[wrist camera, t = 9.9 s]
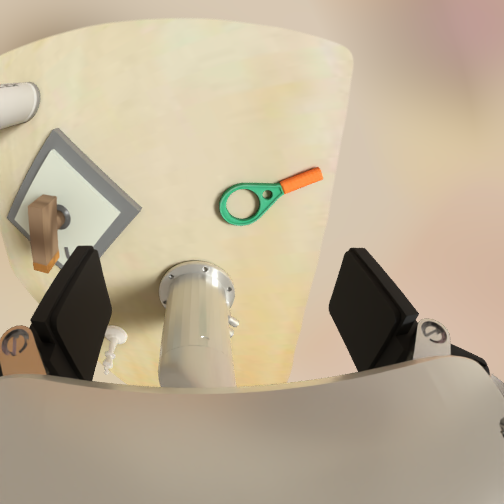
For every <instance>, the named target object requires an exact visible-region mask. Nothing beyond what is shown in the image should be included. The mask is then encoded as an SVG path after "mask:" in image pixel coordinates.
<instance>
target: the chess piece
mask: <svg viewBox="0 0 504 504" xmlns="http://www.w3.org/2000/svg"><path fill="white" fill-rule="evenodd" d="M105 337H106V338H107V339H108V340H109V341H110V344H109V351H107V352H105V356H106V359H105V360H104V361H103V366H104V369H105V372H104V373H105V374H109V371H108V369H109V368H112V367H113V362H112V359H114V358H115V357H116V356H115V354H114V350H115V348H116V345H117V344H122V343H124V342H125V341H126V339H127V333H126V332H125V331H124V330H123V329H122V328H120V327H118V326H114V325H110V326H107V329H106V333H105Z"/></svg>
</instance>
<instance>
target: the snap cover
mask: <svg viewBox="0 0 504 504" xmlns="http://www.w3.org/2000/svg"><path fill="white" fill-rule="evenodd" d="M43 194H44V195H50V196H56V197H57V210H59V211H61V212H62V213H63V214H64V216H65V223H64V224H63V225H62V226H61V227H60V228H59V229H58V231H57V232H58V248H59V255H60V257H59V259H58V260H57V262H56V263H55V264H56V265H57V266H58V267H59V268H60V269H62V267H63V266H64V264H65V263H66V261H67V260H68V258H69V257H70V256H71V254H72V253H73V251H74V250H75V248H76V247H77V246H93V248H94V249H96V250H97V251H98V254H99V258H100V257H101V256H102V255H103V253H104V252H105V251H106V250H107V249H108V247H109V246H110V245H111V244H112V243H113V241H114V240H115V239H116V238H117V237H118V236H119V234H120V233H121V232H122V231H123V230H124V229H125V228H126V226H127V225H128V224H129V223H130V222H131V221H132V220H133V219H134V218H135V216H136V215H137V214H138V213H139V212H140V210H141V209H142V207H140V206H139V205H138V204H137V203H136V202H135V201H134V200H133V199H132V198H131V197H130V196H128V195H127V194H126V193H125V192H124V191H123V190H122V189H121V188H120V187H119V186H118V185H117V184H116V183H114V182H113V181H112V180H111V179H110V178H109V177H108V176H107V175H106V174H105V173H104V172H103V171H102V170H101V169H100V168H99V167H98V166H97V165H95V164H94V163H93V162H92V161H91V160H90V159H89V158H88V157H87V156H86V155H85V154H84V153H83V152H82V151H81V150H80V149H79V148H78V147H77V146H76V145H75V144H74V143H73V142H72V141H71V140H70V139H69V138H68V137H67V136H66V135H65V134H64V133H63V132H62V131H61V130H60V129H59V128H56V129H53V130H52V132H51V134H50V135H49V137H48V138H47V140H46V141H45V143H44V145H43V146H42V148H41V150H40V151H39V153H38V155H37V157H36V158H35V160H34V162H33V164H32V166H31V167H30V169H29V171H28V173H27V175H26V177H25V179H24V181H23V183H22V185H21V187H20V189H19V191H18V193H17V195H16V198H15V200H14V202H13V204H12V207H11V209H10V211H9V214H8V216H7V219H8V220H9V221H10V222H11V223H12V224H13V225H14V226H15V227H16V228H17V229H18V230H19V231H20V232H21V233H22V234H23V235H24V236H25V237H26V238H27V239H28V240H29V241H30V232H29V220H28V205H30V204H31V203H32V202H33V201H35V200H36V199H37V198H39V197H40V196H41V195H43ZM30 242H31V241H30Z"/></svg>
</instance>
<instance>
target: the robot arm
mask: <svg viewBox="0 0 504 504" xmlns="http://www.w3.org/2000/svg"><path fill="white" fill-rule="evenodd" d="M159 297H160V301H161V303H162V305H163V306H164V308H165V309H166V310H165V317H164V325H163V332H162V340H161V349H160V358H159V366H158V377H159V383H160V385H161V387H149V386H135V385H122V384H113V383H104V382H95V381H92V379H93V375H94V371H95V367H96V364H97V360H98V356H99V353H100V349H101V346H102V343H103V339H104V336H105V333H106V329H107V326H108V323H109V320H110V317H111V313H112V307H111V303H110V299H109V296H108V292H107V288H106V284H105V280H104V276H103V272H102V267H101V263H100V258H99V254H98V251H97V250H96V249H94V248H93V246H77V247H76V248H75V250H74V251H73V253H72V254H71V256H70V257H69V258H68V260H67V261H66V263H65V264H64V266H63V267H62V269H61V270H60V272H59V273H58V275H57V276H56V278H55V279H54V281H53V282H52V284H51V286H50V287H49V289H48V290H47V292H46V294H45V295H44V297H43V299H42V300H41V302H40V304H39V306H38V308H37V309H36V311H35V313H34V315H33V316H32V318H31V322H32V324H31V326H30V328H28V327H26V326H22V325H21V326H15V327H12V328H10V329H9V330H7V331H6V332H5V333H4V334H3V335H2V337H1V339H0V504H504V383H503V382H502V381H500V380H499V379H498V378H497V377H495V376H494V375H493V374H491V375H490V373H489V368H488V366H487V364H486V362H485V360H483V359H482V358H480V357H478V356H476V355H474V354H472V353H469V352H467V351H465V350H463V349H461V348H459V347H457V346H455V345H452V344H451V343H450V334H449V332H448V330H447V329H446V328H445V327H444V326H443V325H442V324H441V323H440V322H438V321H436V320H433V319H429V318H425V319H422V320H421V321H419V322H418V323H417V321H416V318H417V316H418V314H419V313H418V312H417V311H416V309H415V308H414V307H413V306H412V304H411V303H410V302H409V301H408V299H407V298H406V297H405V295H404V294H403V293H402V292H401V290H400V289H399V288H398V287H397V286H396V284H395V283H394V282H393V281H392V279H391V278H390V277H389V276H388V275H387V273H386V272H385V271H384V270H383V269H382V267H381V266H380V265H379V264H378V263H377V262H376V260H375V259H374V258H373V257H372V256H371V255H370V254H369V252H368V251H367V250H366V249H365V248H350V249H349V251H347V252H346V253H345V255H344V258H343V261H342V265H341V268H340V271H339V275H338V278H337V281H336V284H335V287H334V290H333V294H332V297H331V300H330V303H329V312H330V314H331V316H332V318H333V320H334V322H335V324H336V326H337V328H338V331H339V333H340V335H341V337H342V339H343V341H344V343H345V345H346V346H347V349H348V351H349V353H350V355H351V357H352V360H353V362H354V364H355V366H356V368H357V370H358V372H355V373H350V374H345V375H339V376H333V377H328V378H321V379H314V380H307V381H299V382H290V383H281V384H271V385H259V386H244V387H236V381H235V374H234V365H233V357H232V349H231V340H230V338H231V337H232V336H233V334H234V330H233V329H231V328H230V327H229V324H230V325H232V326H233V327H237V326H238V324H239V321H238V320H237V319H236V318H234V317H232V316H231V313H230V308H231V306H232V304H233V302H234V298H235V289H234V284H233V282H232V280H231V278H230V277H229V275H228V274H227V273H226V272H225V271H224V270H223V269H221V268H220V267H218V266H216V265H214V264H211V263H208V262H203V261H188V262H183V263H180V264H178V265H176V266H174V267H172V268H171V269H170V270H168V271H167V272H166V274H165V275H164V276H163V278H162V280H161V282H160V287H159Z"/></svg>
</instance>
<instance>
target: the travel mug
mask: <svg viewBox="0 0 504 504" xmlns="http://www.w3.org/2000/svg"><path fill="white" fill-rule="evenodd" d="M39 104H40V92H39V89H38V87H37V86H36V85H35V84H34V83H31V82H27V83H9V84H0V129H3V128H6V127H10V126H13V125H17V124H20V123H24V122H27V121H29V120H30V119H32V118H33V116H34V115H35V114H36V112H37V110H38V107H39Z"/></svg>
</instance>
